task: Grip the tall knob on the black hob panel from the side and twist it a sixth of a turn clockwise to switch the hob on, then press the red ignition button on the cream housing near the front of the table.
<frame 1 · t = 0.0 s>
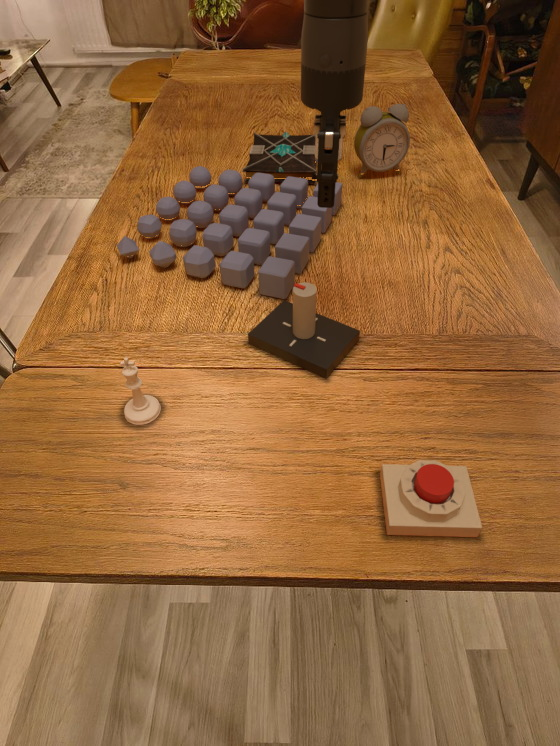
hand: (326, 191, 71), 20 cm above the table, tool pointing down, fingers open, 8 cm apart
ignition button: (433, 483, 57), point 4 cm above the table, slide at 0.1 cm
alarm clock: (376, 173, 121), on the table
chess piece: (143, 411, 71), on the table
book: (283, 165, 124), on the table
hob panel: (303, 341, 80), on the table
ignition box: (426, 504, 60), on the table
blocks: (234, 233, 103), on the table
knob: (304, 310, 75), point 6 cm above the table, hinge at 0.0°
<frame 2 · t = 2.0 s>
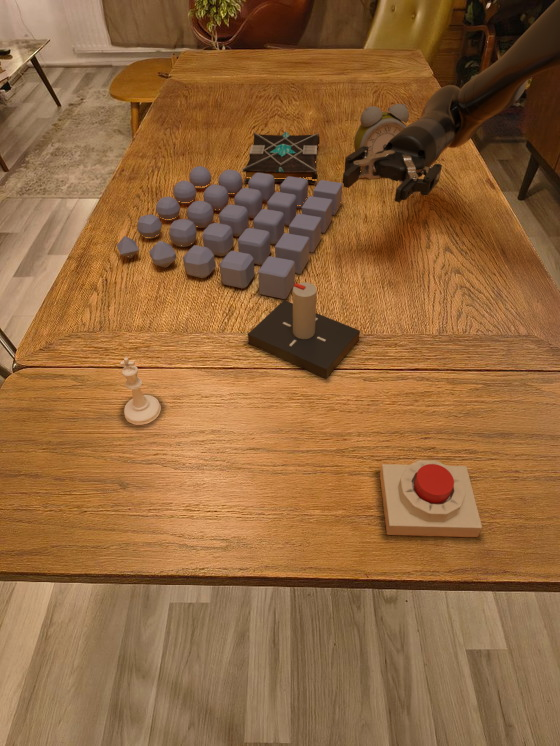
hand: (371, 188, 76), 18 cm above the table, tool horizontal, fingers open, 8 cm apart
nothing on the table moved.
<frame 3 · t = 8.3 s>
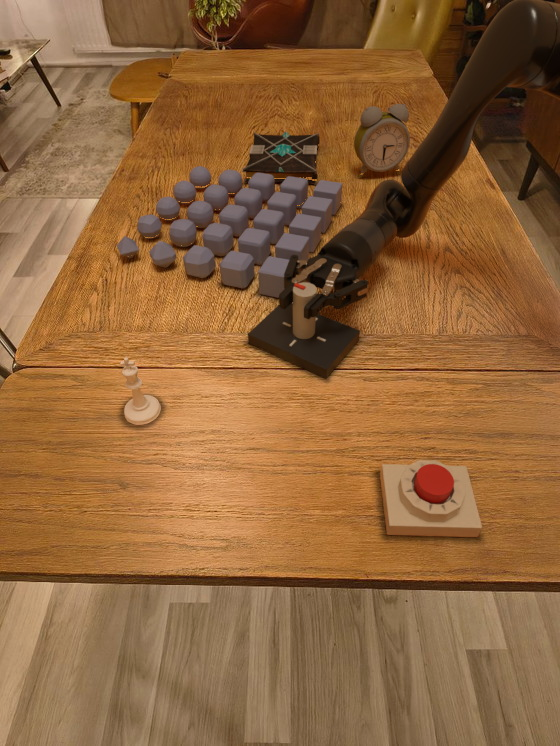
hand: (294, 308, 72), 8 cm above the table, tool horizontal, fingers closed on knob, 3 cm apart
knob: (304, 310, 75), point 6 cm above the table, hinge at -0.3°, touching gripper
everything else where it was.
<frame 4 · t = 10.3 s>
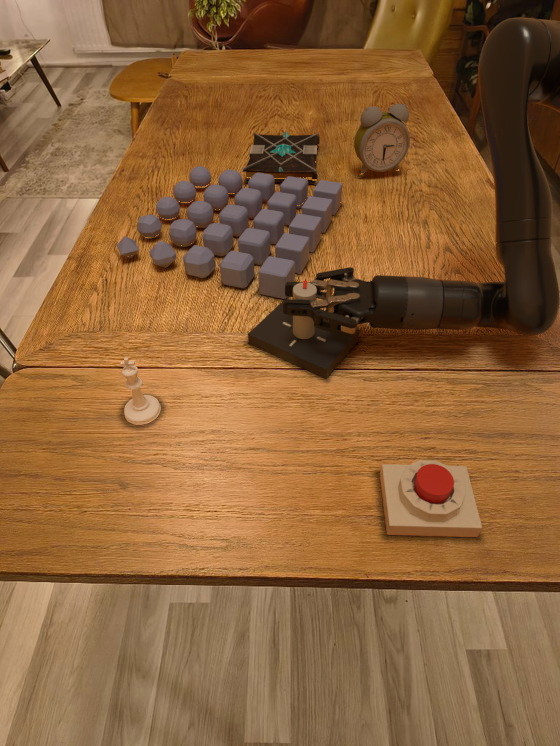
hand: (284, 298, 74), 8 cm above the table, tool horizontal, fingers closed on knob, 3 cm apart
knob: (304, 310, 75), point 6 cm above the table, hinge at -60.9°, touching gripper
everything else where it was.
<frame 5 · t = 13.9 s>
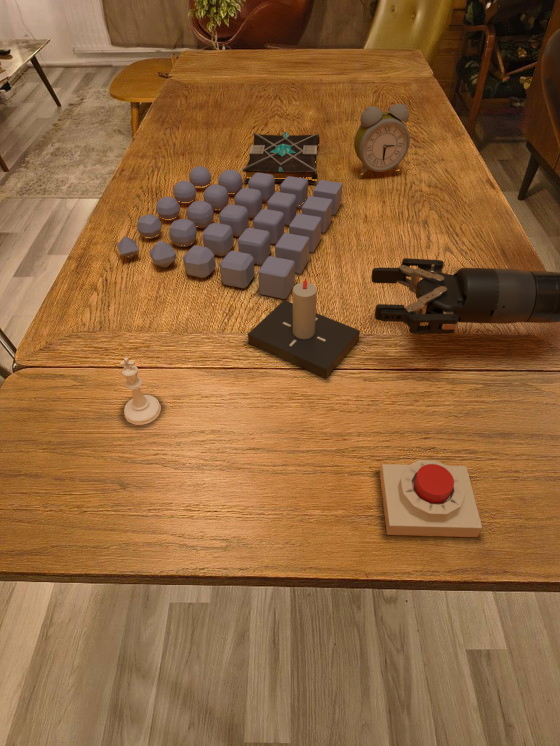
hand: (373, 293, 72), 10 cm above the table, tool horizontal, fingers open, 8 cm apart
knob: (304, 310, 75), point 6 cm above the table, hinge at -60.9°
everything else where it was.
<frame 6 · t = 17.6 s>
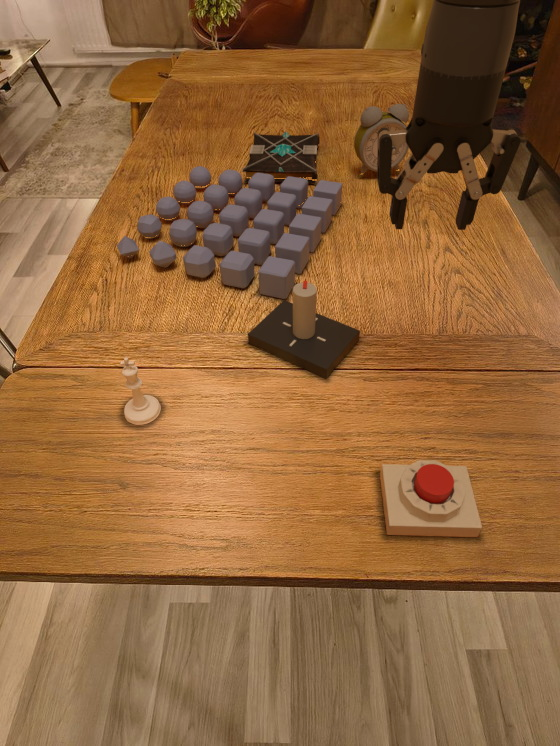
hand: (429, 225, 58), 24 cm above the table, tool pointing down, fingers open, 6 cm apart
nothing on the table moved.
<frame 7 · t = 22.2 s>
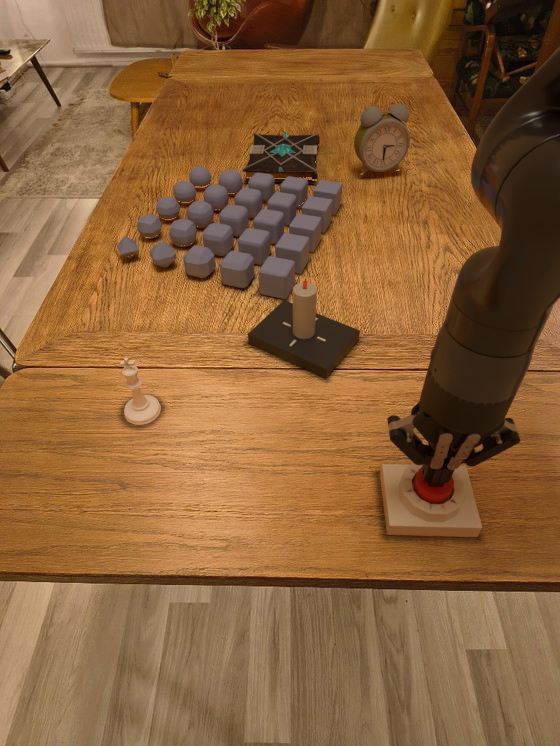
hand: (434, 479, 56), 5 cm above the table, tool pointing down, fingers closed
ignition button: (433, 483, 57), point 4 cm above the table, slide at 0.0 cm, touching gripper
everything else where it was.
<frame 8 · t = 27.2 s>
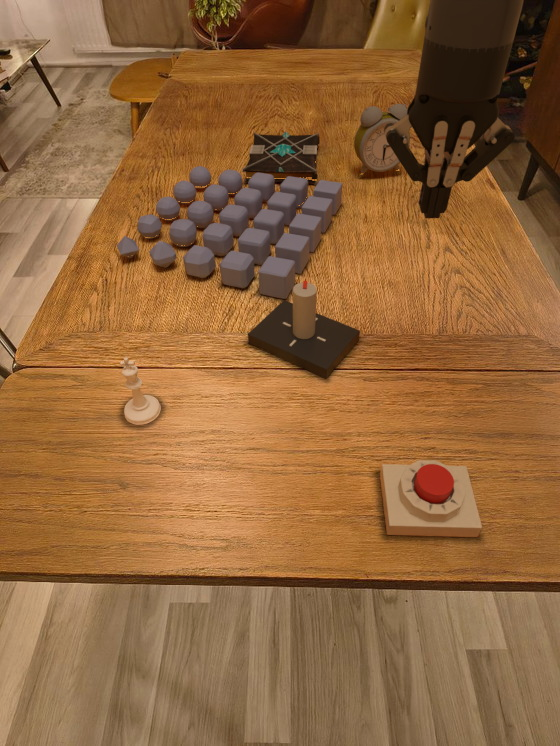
hand: (430, 214, 57), 25 cm above the table, tool pointing down, fingers closed
ignition button: (433, 483, 57), point 4 cm above the table, slide at 0.1 cm
everything else where it was.
at the end: knob at -61° (first picture: +0°); ignition button pushed in 1.2 cm at the most during the clip, back to where it started at the end; ignition button slide at 0.1 cm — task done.
